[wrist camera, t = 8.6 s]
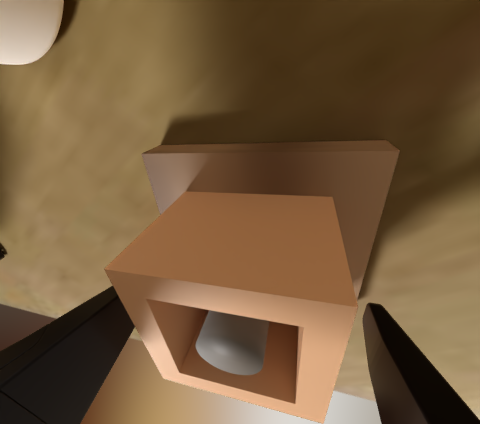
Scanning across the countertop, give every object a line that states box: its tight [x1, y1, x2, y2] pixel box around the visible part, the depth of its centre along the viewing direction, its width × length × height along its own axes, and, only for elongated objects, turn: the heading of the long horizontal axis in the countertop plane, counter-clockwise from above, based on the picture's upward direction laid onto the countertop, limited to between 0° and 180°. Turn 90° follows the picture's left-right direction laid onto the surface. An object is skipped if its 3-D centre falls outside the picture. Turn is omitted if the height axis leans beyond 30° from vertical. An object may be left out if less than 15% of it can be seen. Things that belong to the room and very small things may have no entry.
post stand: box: [142, 140, 400, 375], centre depth 10 cm, size 10×10×6 cm
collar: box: [104, 191, 358, 424], centre depth 9 cm, size 6×6×5 cm
